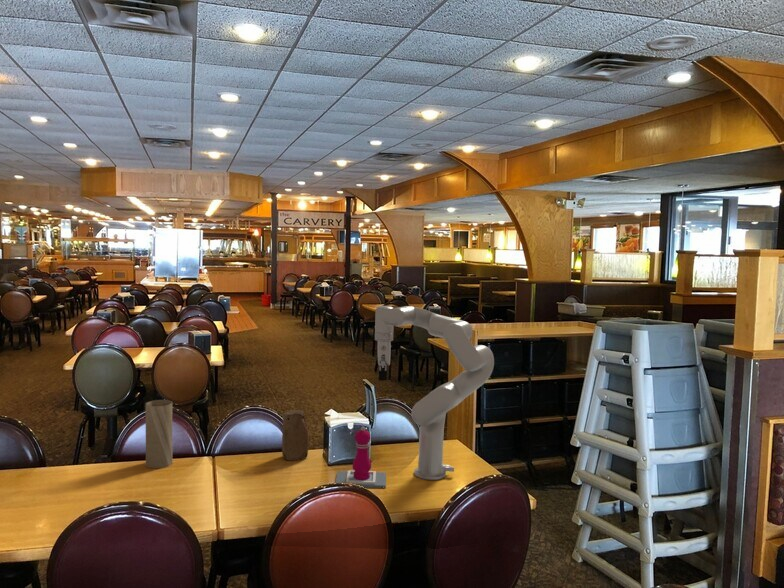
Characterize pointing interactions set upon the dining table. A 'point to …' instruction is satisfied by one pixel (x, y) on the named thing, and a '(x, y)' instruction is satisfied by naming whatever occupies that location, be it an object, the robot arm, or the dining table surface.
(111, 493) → the dining table surface
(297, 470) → the dining table surface
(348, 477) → the grey panel
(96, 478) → the dining table surface
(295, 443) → the block
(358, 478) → the pepper mill
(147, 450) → the tube
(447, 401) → the robot arm
